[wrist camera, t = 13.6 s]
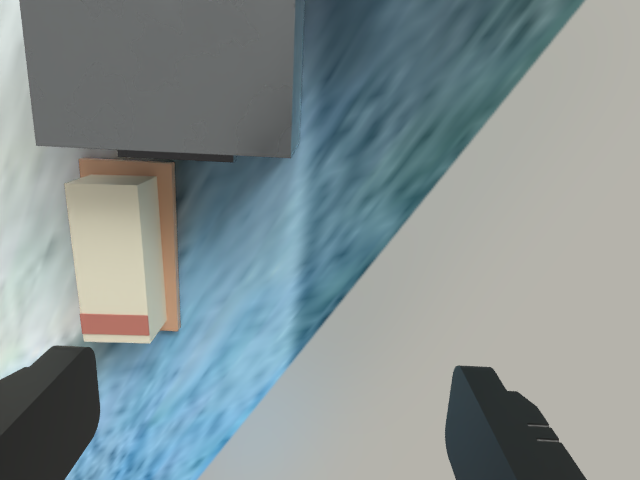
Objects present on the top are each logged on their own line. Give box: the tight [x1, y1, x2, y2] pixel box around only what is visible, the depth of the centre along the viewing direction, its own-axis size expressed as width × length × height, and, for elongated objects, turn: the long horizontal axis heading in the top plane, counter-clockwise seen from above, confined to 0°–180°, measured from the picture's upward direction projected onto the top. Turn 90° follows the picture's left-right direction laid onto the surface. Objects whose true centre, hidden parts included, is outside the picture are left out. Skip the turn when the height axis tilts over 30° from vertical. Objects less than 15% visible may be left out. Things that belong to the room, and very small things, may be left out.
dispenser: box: [19, 0, 305, 162], centre depth 30 cm, size 13×14×10 cm
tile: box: [79, 158, 181, 331], centre depth 39 cm, size 14×7×1 cm, turn 177°
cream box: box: [64, 174, 167, 343], centre depth 37 cm, size 12×5×4 cm, turn 178°
